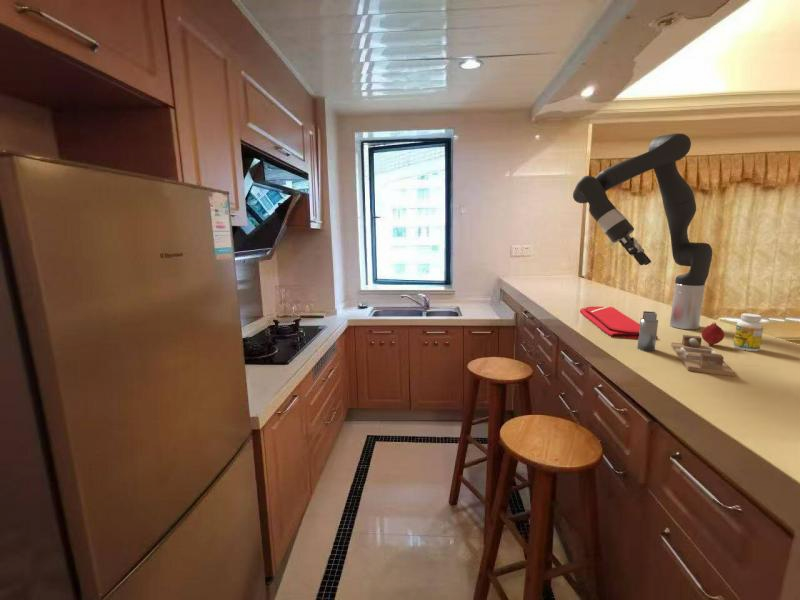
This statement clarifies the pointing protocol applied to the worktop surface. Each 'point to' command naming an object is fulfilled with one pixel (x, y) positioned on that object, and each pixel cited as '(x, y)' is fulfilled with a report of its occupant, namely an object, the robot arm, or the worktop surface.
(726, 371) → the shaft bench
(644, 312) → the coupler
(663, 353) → the worktop surface
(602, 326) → the red folded towel
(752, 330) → the supplement bottle
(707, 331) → the onion
